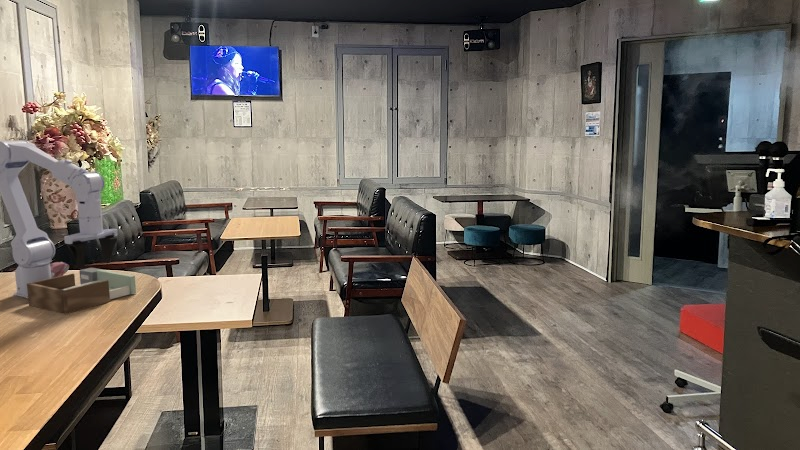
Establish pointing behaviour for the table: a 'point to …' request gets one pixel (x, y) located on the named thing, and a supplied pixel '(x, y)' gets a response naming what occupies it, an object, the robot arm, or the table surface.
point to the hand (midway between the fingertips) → (94, 265)
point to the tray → (114, 283)
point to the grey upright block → (88, 275)
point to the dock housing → (66, 294)
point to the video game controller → (58, 269)
